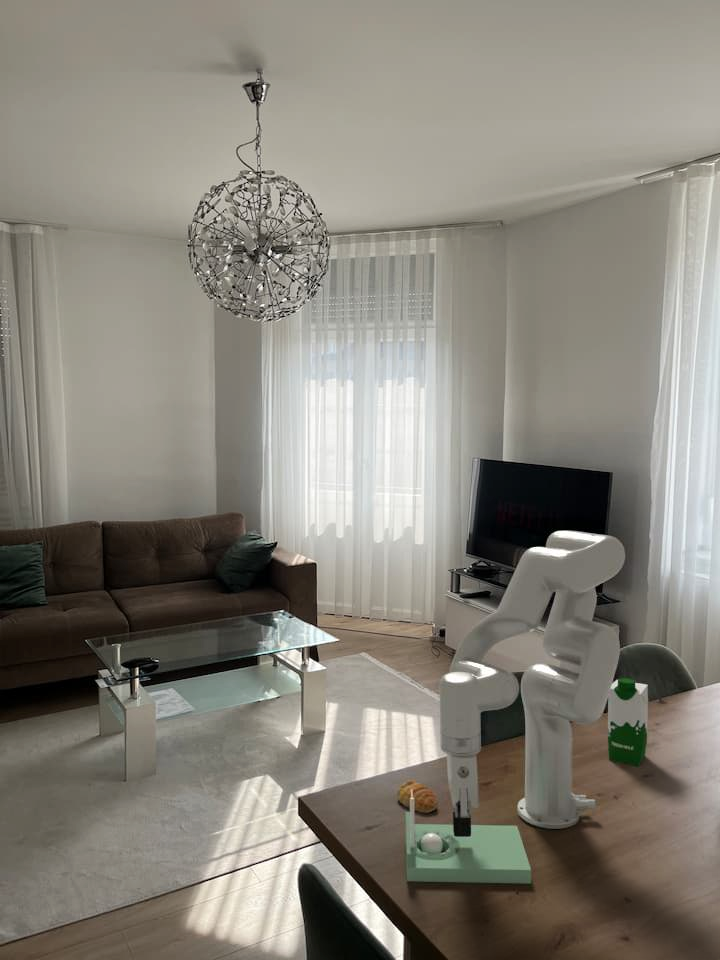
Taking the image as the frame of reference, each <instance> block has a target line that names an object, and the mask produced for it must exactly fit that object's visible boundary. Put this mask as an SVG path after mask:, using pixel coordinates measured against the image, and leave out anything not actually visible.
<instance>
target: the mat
mask: <svg viewBox="0 0 720 960" xmlns="http://www.w3.org/2000/svg"><path fill="white" fill-rule="evenodd" d="M428 833H434V834H437V835H438V836H439V837H440V838H441V840H442V843H443V849H442V852H441V853H440V854H428V853H425V852H422V850H421V845H420V844H421V840H422V838H423V837H424V836H425V835H426V834H428ZM523 843H524V842H523V840H522V836H521V834H520V830H519V828H518V825H499V824H498V825H497V824H496V825H490V824H489V825H487V824H485V825H483V824H480V825H479V824H471V836H470V837H455V836H454V832H453V824H431V823H430V824H429V823H427V824H426V823H425V824H422V823H416V824H415V823H414V848H411V847H410V811H405V853H406V854H405V856H406V857H405V859H406V861H405V863H406V882H427V883H429V882H432V883H433V882H434V883H435V882H437V883H439V882H440V883H477V884H478V883H479V884H481V883H485V884H488V883H489V884H490V883H491V884H527V885H528V884H532V869H531V866H530V863H529V862H530V861H529V859H528V856H527V853H526V849H525V846H524V844H523Z"/></svg>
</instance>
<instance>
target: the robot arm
mask: <svg viewBox="0 0 720 960" xmlns="http://www.w3.org/2000/svg"><path fill="white" fill-rule="evenodd" d="M625 552H626V551H625V547H624V545H623V543H622V542H621V541H620V540H619V539H618V538H617V537H615V536H611V535H606V534H597V533H591V532H585V531H577V530H556V531H554V532H552V533H551V534H550V535H549V536H548V537H547V539H546V543H545V546H535V547H534V546H533V547H530V548H528V549H527V550H525V552H524V553H523V554H522V556H521V557H520V559H519V562H518V564H517V565H516V568H515V570H514V572H513V575H512V576H511V579H510V581H509V583H508V585H507V587H506V589H505V592H504V594H503V596H502V599H501V601H500V603H499V605H498V607H497V609H496V610H494V611H493V612H492V613H490V614H488V615H487V616H486V617H484V618H483V619H482V620H481V621H479V622H478V623H477V624H476V625H474V626H473V627H472V628H471V629H470V630H469V631H468V632H467V633H466V634H465V636H464V637H463V638H462V640H461V641H460V643H459V645H458V648H457V650H456V651H455V654H454V657H453V658H452V661H451V664H450V667H449V670H448V673H445V674H444V675H443V676H441V678H440V680H439V684H438V687H439V689H438V690H439V691H438V692H439V694H438V695H439V697H438V698H439V733H440V734H439V736H440V739H439V740H440V741H439V742H440V746H439V747H440V750H441V751H442V752H443V753H445V754H446V763H447V766H446V769H447V781H448V789H449V795H450V799H451V800H450V801H451V805H452V807H453V812H452V825H453V832H454V836H455V837H470V836H471V825H472V818H471V817H472V816H471V807H472V809H473V808H474V809H478V808H479V806H480V805H479V783H478V781H479V780H478V779H479V778H478V764H477V762H478V761H477V754H479V753H480V752H481V750H482V740H481V739H482V738H481V737H482V734H481V732H482V731H481V729H482V727H481V723H482V721H481V713H482V712H485V711H486V712H487V711H493V710H494V711H495V710H501V709H504V708H508V707H509V706H511V705H512V704H514V702H515V701H516V699H517V698H518V697H519V693H520V694H521V699H522V704H523V710H524V719H525V720H524V721H525V724H524V725H525V741H524V742H525V743H524V744H525V745H524V746H525V748H524V749H525V753H524V754H525V755H524V759H525V760H524V761H525V763H524V764H525V765H524V766H525V767H524V770H525V771H524V774H525V775H524V797H522V798H521V799H519V801H518V803H517V808H516V809H517V810H516V811H517V814H518V816H519V817H520V819H521V818H522V820H523V821H525V822H526V823H529V824H531V825H533V826H535V827H539V828H542V829H543V828H544V829H548V830H549V829H550V830H556V829H557V830H558V829H559V830H560V829H566V828H570V827H572V826H574V825H576V824H577V823H578V821H580V811H581V810H585V809H586V810H596V800H595V799H594V798H591V799H588V798H587V796H586V794H575V793H574V792H572V791H573V737H574V736H573V730H572V726H571V725H572V724H571V723H570V722H573V723H575V724H579V725H582V726H590V725H593V724H596V723H597V722H598V721H599V719H600V718H601V717H602V715H603V713H604V710H605V708H606V706H607V703H608V698H609V692H610V688H611V685H612V684H613V682H614V677H615V674H616V671H617V667H618V664H619V658H620V653H621V645H620V639H619V636H618V633H617V632H616V631H615V629H614V628H612V627H611V626H609V625H608V624H605V623H602V622H596V621H593V618H594V614H595V610H596V606H597V601H598V600H597V599H598V598H597V592H596V587H598V586H600V584H603V583H605V582H607V581H609V580H610V579H612V578H613V577H615V576H616V575H618V573H619V572H620V570H621V569H622V568H623V566H624V563H625V560H626V553H625ZM553 593H555V595H554V599H553V603H552V606H551V610H550V613H549V614H548V615H549V616H548V619H547V623H546V626H545V629H544V633H543V636H542V643H541V644H542V649H543V651H544V652H545V653H546V655H547V656H549V657H551V658H552V659H555V660H558V661H560V662H564V663H568V664H570V665H574V666H578V667H580V671H579V672H576V671H573V670H570V669H567V668H563V667H561V666H556V665H554V664H550V663H535V664H532V665H530V666H529V667H527V668H526V669H525V671H524V672H523V675H522V677H521V682H520V683H519V681H518V679H517V677H516V676H515V675H514V673H513V672H511V671H509V670H507V669H505V668H503V667H500V666H495V665H493V664H491V663H488V662H485V661H483V660H484V658H485V656H486V655H487V653H488V652H489V651H490V649H492V648H493V647H494V646H495V645H496V644H498V643H500V642H502V641H504V640H506V639H510V638H513V637H516V636H517V637H518V636H520V635H525V634H528V633H529V634H530V633H532V632H533V631H536V630H537V629H538V627H539V625H540V624H541V621H542V618H543V616H544V614H545V611H546V609H547V607H548V605H549V603H550V600H551V597H552V596H553Z"/></svg>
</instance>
